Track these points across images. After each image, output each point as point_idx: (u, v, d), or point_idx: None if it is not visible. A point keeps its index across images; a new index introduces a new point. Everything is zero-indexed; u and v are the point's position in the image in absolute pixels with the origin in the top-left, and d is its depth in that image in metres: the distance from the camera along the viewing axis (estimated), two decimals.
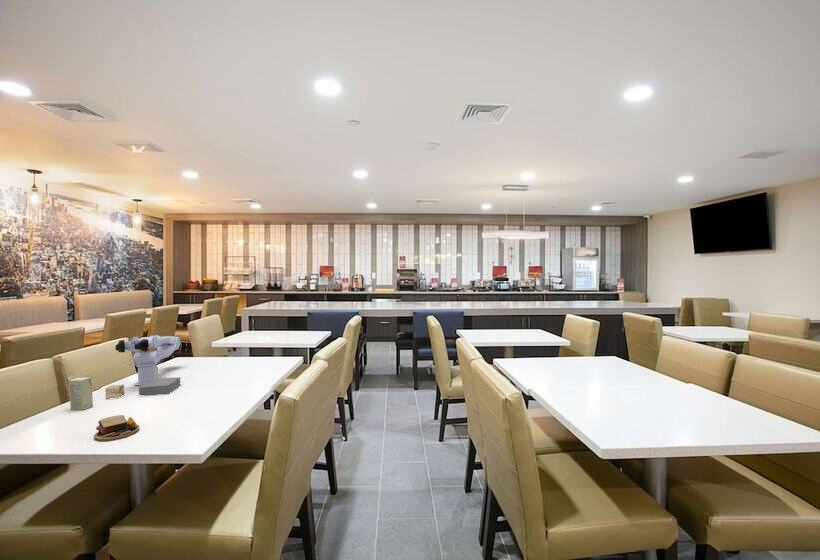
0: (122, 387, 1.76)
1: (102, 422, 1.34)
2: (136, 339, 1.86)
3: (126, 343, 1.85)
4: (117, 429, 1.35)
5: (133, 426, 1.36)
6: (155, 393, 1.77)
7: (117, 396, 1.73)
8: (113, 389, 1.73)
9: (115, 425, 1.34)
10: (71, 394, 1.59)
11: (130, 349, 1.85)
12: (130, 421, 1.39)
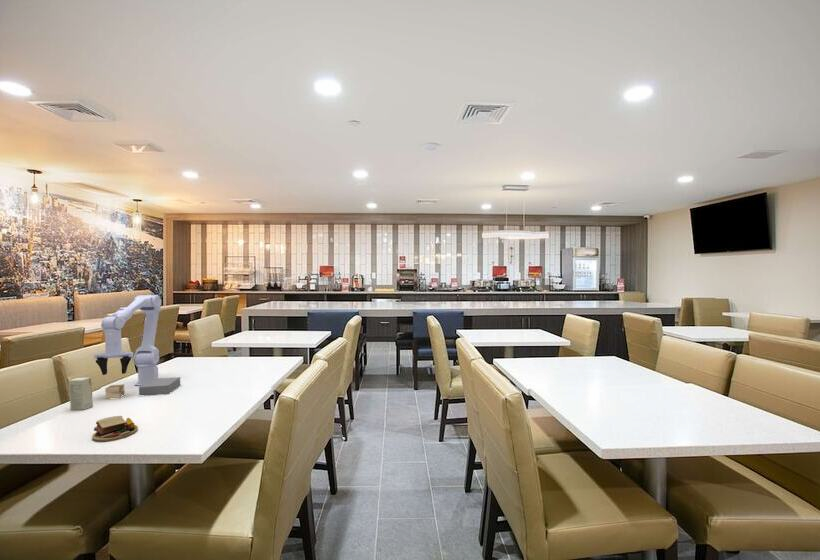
0: (122, 387, 1.76)
1: (100, 423, 1.34)
2: (111, 356, 1.72)
3: None
4: (115, 430, 1.35)
5: (132, 426, 1.35)
6: (155, 393, 1.77)
7: (117, 396, 1.73)
8: (113, 389, 1.73)
9: (113, 426, 1.34)
10: (71, 394, 1.59)
11: None
12: (128, 422, 1.38)
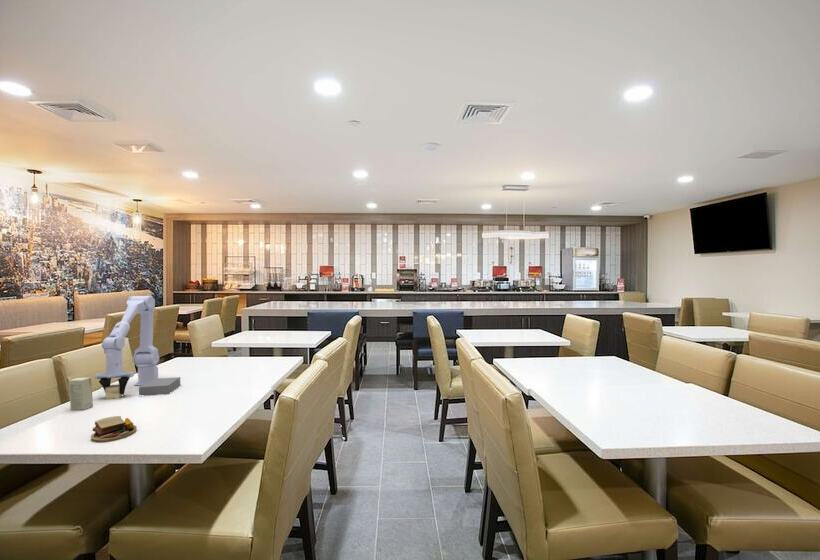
0: None
1: (99, 423, 1.34)
2: (112, 376, 1.72)
3: None
4: (114, 430, 1.34)
5: (131, 427, 1.35)
6: (155, 393, 1.77)
7: (117, 396, 1.73)
8: (113, 389, 1.73)
9: (112, 426, 1.33)
10: (71, 394, 1.59)
11: None
12: (127, 422, 1.38)
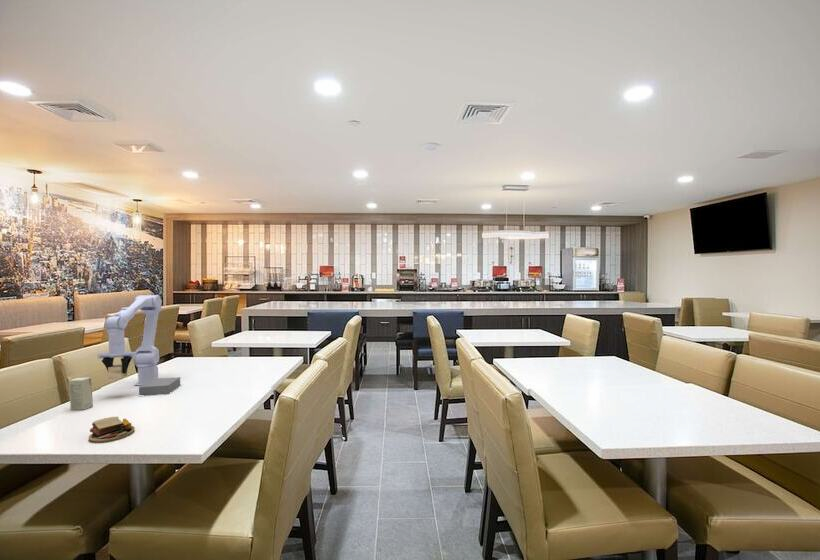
0: None
1: (96, 424, 1.33)
2: (114, 356, 1.73)
3: None
4: (112, 431, 1.34)
5: (129, 427, 1.35)
6: (155, 393, 1.77)
7: (119, 375, 1.73)
8: (116, 368, 1.73)
9: (110, 426, 1.33)
10: (71, 394, 1.59)
11: None
12: (125, 422, 1.38)
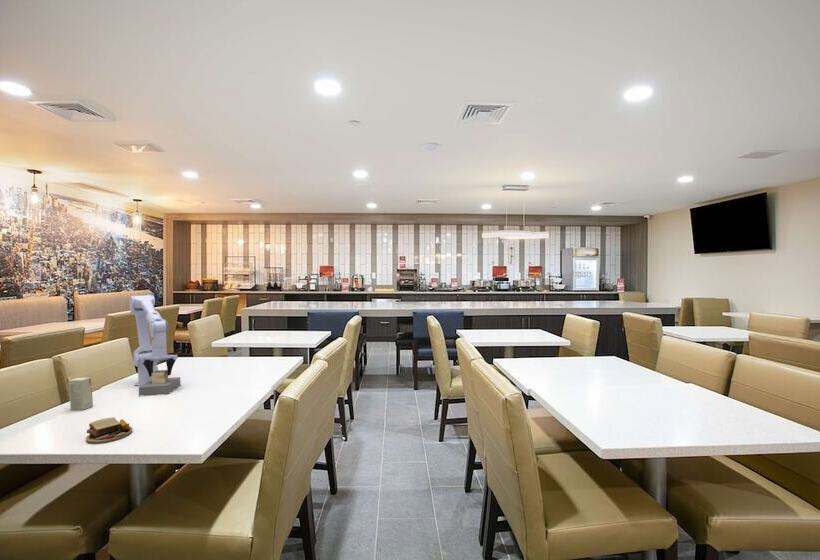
0: (166, 372, 1.85)
1: (93, 425, 1.32)
2: (158, 358, 1.81)
3: None
4: (110, 431, 1.33)
5: (127, 428, 1.34)
6: (155, 393, 1.77)
7: (162, 380, 1.82)
8: (159, 374, 1.81)
9: (108, 427, 1.32)
10: (71, 394, 1.59)
11: None
12: (122, 423, 1.37)
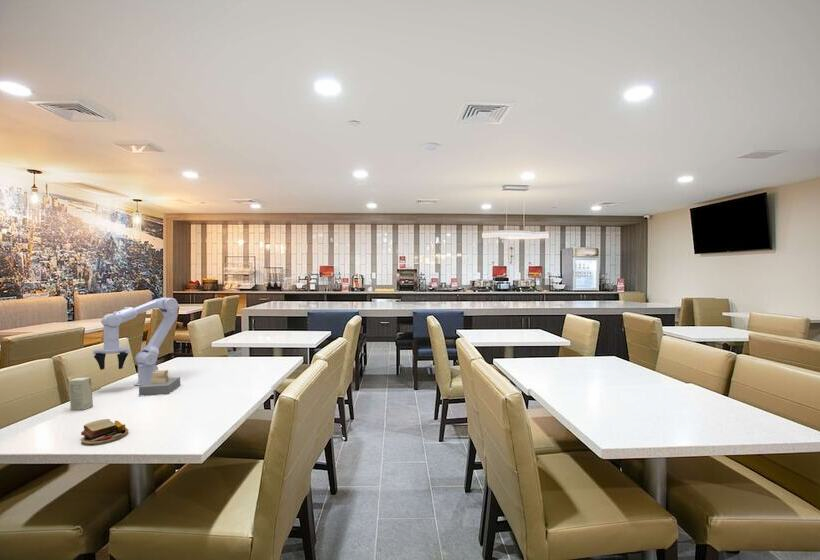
0: (166, 372, 1.85)
1: (88, 426, 1.31)
2: (109, 351, 1.81)
3: (101, 351, 1.82)
4: (105, 433, 1.32)
5: (123, 429, 1.33)
6: (155, 393, 1.77)
7: (162, 380, 1.82)
8: (159, 374, 1.81)
9: (103, 429, 1.31)
10: (71, 394, 1.59)
11: None
12: (117, 424, 1.36)
